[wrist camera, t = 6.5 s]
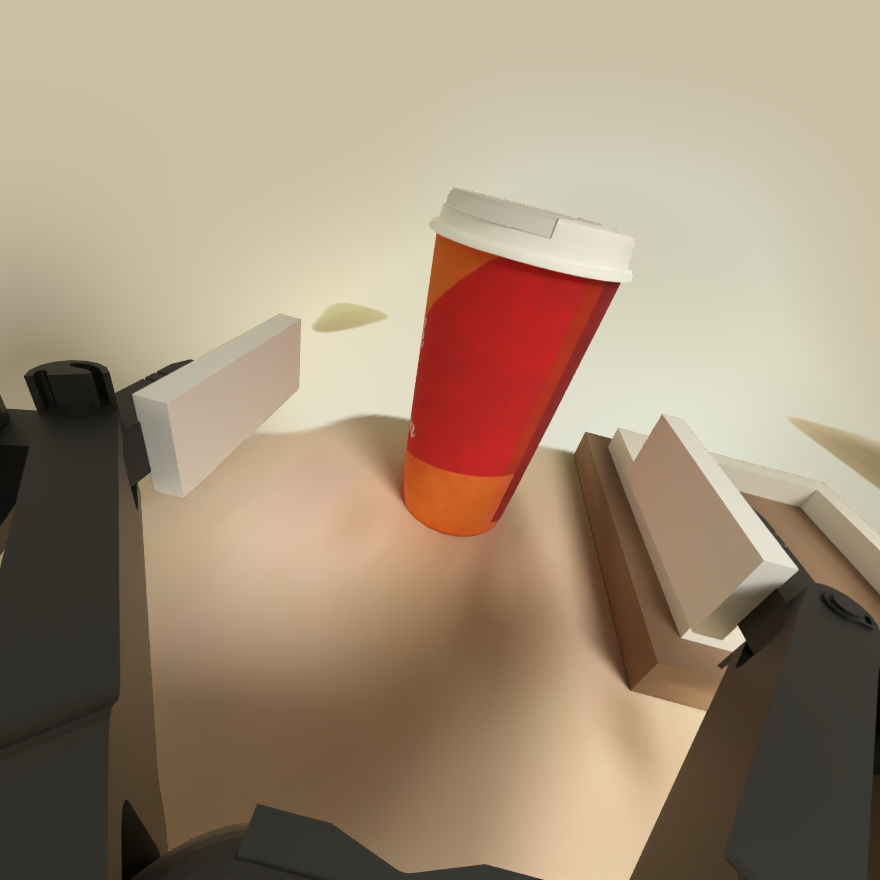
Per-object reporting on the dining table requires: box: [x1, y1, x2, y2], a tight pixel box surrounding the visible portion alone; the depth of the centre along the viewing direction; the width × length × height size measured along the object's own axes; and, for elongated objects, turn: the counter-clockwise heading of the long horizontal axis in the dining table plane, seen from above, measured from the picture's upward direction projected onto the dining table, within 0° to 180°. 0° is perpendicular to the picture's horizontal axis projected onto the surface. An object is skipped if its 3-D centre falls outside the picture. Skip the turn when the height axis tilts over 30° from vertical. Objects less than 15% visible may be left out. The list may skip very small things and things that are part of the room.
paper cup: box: [402, 187, 635, 536], centre depth 18 cm, size 8×8×14 cm
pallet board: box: [574, 428, 880, 711], centre depth 21 cm, size 16×16×4 cm
